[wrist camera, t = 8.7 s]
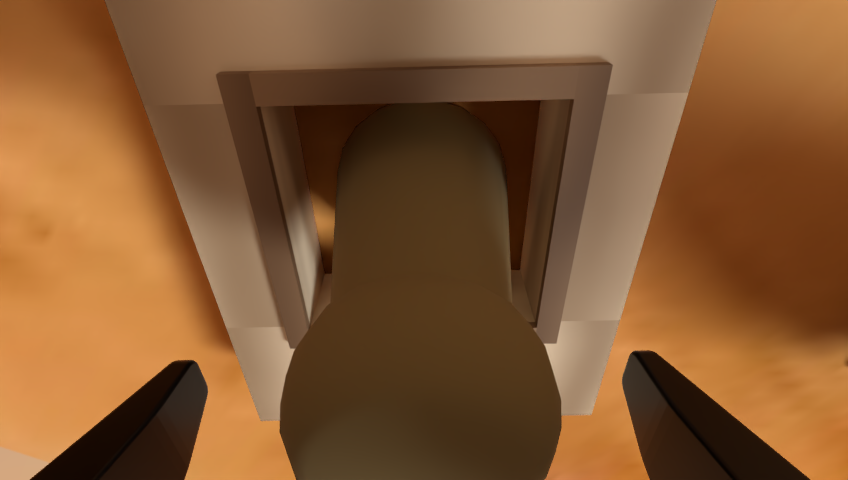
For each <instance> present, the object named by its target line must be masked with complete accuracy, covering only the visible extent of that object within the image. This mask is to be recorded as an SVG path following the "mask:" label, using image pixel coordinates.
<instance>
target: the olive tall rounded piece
mask: <svg viewBox="0 0 848 480" xmlns="http://www.w3.org/2000/svg"><path fill="white" fill-rule="evenodd" d="M560 432H561V397H560V394H559V390H558V387H557V383H556V380H555V376H554V373H553V370H552V366H551V363H550V360H549V357H548V354H547V350H546V347H545V345H544V344H543V342H542V341H541V339H540V338H539V336H538V335H537V333H536V332H535V331H534V329H533V328H532V326H531V325H530V324H529V323H528V321H527V320H526V319H525V318H524V317H523V316H522V315H521V313H520V312H519V311H518V310H517V309H516V308H515V307H514V305H513V304H512V286H511V264H510V242H509V219H508V197H507V175H506V166H505V162H504V159H503V155H502V151H501V148H500V144H499V143H498V142H497V140H496V139H495V137H494V136H493V135H492V133H491V132H490V130H489V129H488V128H487V126H486V125H485V123H483V122H482V121H480V120H479V119H478V118H476V117H475V116H473V115H472V114H470V113H469V112H468V111H466V110H465V109H463V108H462V107H459V106H455V105H452V104H449V103H445V102H430V103H395V104H392V105H389V106H386V107H384V108H381V109H378V110H377V111H375V112H374V113H373V114H372V115H370V116H369V117H368V118H367V119H365V120H364V121H363V122H361V123H360V124H359V125H358V126H356V128H355V130H354V131H353V133H352V134H351V136H350V137H349V139H348V141H347V142H346V144H345V145H344V147H343V149H342V154H341V159H340V163H339V168H338V174H337V192H336V210H335V228H334V246H333V264H332V282H331V300H330V304H329V305H327V306H326V307H325V309H324V310H323V311H322V313H321V314H320V315H319V317H318V318H317V319H316V320H315V322H314V323H313V324H312V326H311V327H310V328H309V330H308V331H307V333H306V334H305V335H304V337H303V338H302V340H301V341H300V343H299V344H298V346H297V347H296V348H295V350H294V352H293V355H292V358H291V361H290V364H289V368H288V371H287V374H286V377H285V382H284V387H283V392H282V397H281V402H280V434H281V437H282V440H283V443H284V446H285V449H286V452H287V455H288V457H289V460H290V463H291V466H292V469H293V471H294V474H295V477H296V480H544V479H545V478H546V476H547V474H548V471H549V468H550V466H551V463H552V460H553V458H554V455H555V452H556V448H557V444H558V440H559V436H560Z"/></svg>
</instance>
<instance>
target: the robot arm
mask: <svg viewBox="0 0 848 480" xmlns="http://www.w3.org/2000/svg"><path fill="white" fill-rule="evenodd" d="M622 385H623V390H624V394H625V397H626V401H627V405H628V409H629V412H630V416H631V420H632V423H633V427H634V431H635V435H636V438H637V442H638V446H639V449H640V453H641V456H642V459H643V462H644V465H645V468H646V471H647V473H648V476H649V478H650V480H810V479H809V478H808V477H807V476H805V475H804V474H803V473H802V472H800V471H799V470H798V469H797V468H796V467H794V466H793V465H792V464H791V463H790V462H788V461H787V460H786V459H785V458H783V457H782V456H781V455H780V454H779V453H777V452H776V451H775V450H774V449H772V448H771V447H770V446H769V445H768V444H766V443H765V442H764V441H763V440H762V439H760V438H759V437H758V436H757V435H755V434H754V433H753V432H752V431H751V430H749V429H748V428H747V427H746V426H744V425H743V424H742V423H741V422H740V421H738V420H737V419H736V418H735V417H734V416H732V415H731V414H730V413H729V412H727V411H726V410H725V409H724V408H723V407H721V406H720V405H719V404H718V403H717V402H715V401H714V400H713V399H712V398H710V397H709V396H708V395H707V394H706V393H704V392H703V391H702V390H701V389H699V388H698V387H697V386H696V385H695V384H693V383H692V382H691V381H690V380H689V379H687V378H686V377H685V376H684V375H682V374H681V373H680V372H679V371H678V370H676V369H675V368H674V367H673V366H671V365H670V364H669V363H668V362H667V361H665V360H664V359H663V358H662V357H661V356H659V355H658V354H657V353H655V352H653V351H649V350H647V351H633V352H632V353H631V354H630V356H629V359H628V362H627V365H626V368H625V371H624V374H623V377H622ZM207 394H208V388H207V384H206V381H205V379H204V377H203V375H202V373H201V370H200V368H199V366H198V364H197V363H196V362H195V361H193V360H178V361H174V362H172V363H170V364H169V365H168V366H167V367H165V368H164V369H163V370H162V371H161V372H159V373H158V374H157V375H156V376H155V377H153V378H152V379H151V380H150V381H148V382H147V383H146V384H145V385H144V386H142V387H141V388H140V389H139V390H138V391H136V392H135V393H134V394H133V395H132V396H130V397H129V398H128V399H127V400H125V401H124V402H123V403H122V404H121V405H119V406H118V407H117V408H116V409H115V410H113V411H112V412H111V413H110V414H109V415H107V416H106V417H105V418H104V419H103V420H101V421H100V422H99V423H98V424H96V425H95V426H94V427H93V428H92V429H90V430H89V431H88V432H87V433H86V434H84V435H83V436H82V437H81V438H80V439H78V440H77V441H76V442H75V443H73V444H72V445H71V446H70V447H69V448H67V449H66V450H65V451H64V452H63V453H61V454H60V455H59V456H58V457H57V458H55V459H54V460H53V461H52V462H51V463H49V464H48V465H47V466H46V467H45V468H43V469H42V470H41V471H40V472H38V473H37V474H36V475H35V476H34V477H32V478H31V479H30V480H184V479H185V476H186V473H187V470H188V467H189V464H190V460H191V457H192V453H193V449H194V445H195V442H196V438H197V434H198V430H199V426H200V422H201V418H202V415H203V411H204V407H205V403H206V399H207Z"/></svg>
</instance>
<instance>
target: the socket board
mask: <svg viewBox="0 0 848 480" xmlns="http://www.w3.org/2000/svg"><path fill="white" fill-rule="evenodd" d="M105 3H106V6H107V8H108V11H109V14H110V17H111V19H112V22H113V25H114V27H115V30H116V33H117V35H118V38H119V41H120V43H121V46H122V49H123V52H124V54H125V57H126V60H127V62H128V65H129V68H130V70H131V73H132V76H133V78H134V81H135V84H136V86H137V89H138V92H139V95H140V97H141V100H142V103H143V105H144V108H145V111H146V113H147V116H148V119H149V121H150V124H151V127H152V130H153V132H154V135H155V138H156V140H157V143H158V146H159V148H160V151H161V154H162V156H163V159H164V162H165V165H166V167H167V170H168V173H169V175H170V178H171V181H172V183H173V186H174V189H175V191H176V194H177V197H178V200H179V202H180V205H181V208H182V210H183V213H184V216H185V218H186V221H187V224H188V226H189V229H190V232H191V234H192V237H193V240H194V243H195V245H196V248H197V251H198V253H199V256H200V259H201V261H202V264H203V267H204V269H205V272H206V275H207V278H208V280H209V283H210V286H211V288H212V291H213V294H214V296H215V299H216V302H217V304H218V307H219V310H220V313H221V315H222V318H223V321H224V323H225V326H226V329H227V331H228V334H229V337H230V339H231V342H232V345H233V347H234V350H235V353H236V356H237V358H238V361H239V364H240V366H241V369H242V372H243V374H244V377H245V380H246V382H247V385H248V388H249V391H250V393H251V396H252V399H253V401H254V404H255V407H256V409H257V412H258V415H259V417H260V420H261V421H280V402H281V397H282V392H283V387H284V382H285V377H286V374H287V371H288V368H289V364H290V361H291V358H292V355H293V352H294V350H295V348H296V347H297V346H298V344H299V343H300V341H301V340H302V338H303V337H304V335H305V334H306V333H307V331H308V330H309V328H310V327H311V326H312V324H313V323H314V322H315V320H316V319H317V318H318V317H319V315H320V314H321V313H322V311H323V310H324V309H325V307H326V306H327V305H329V304H330V300H331V282H332V274H325V272H324V267H323V261H322V256H321V250H320V245H319V240H318V234H317V229H316V223H315V218H314V212H313V207H312V202H311V196H310V191H309V185H308V180H307V175H306V169H305V164H304V158H303V153H302V148H301V142H300V137H299V131H298V126H297V120H296V115H295V110H294V106H305V105H347V104H389V103H430V102H472V101H513V100H541V101H540V109H539V117H538V126H537V134H536V142H535V150H534V159H533V167H532V175H531V183H530V191H529V200H528V208H527V216H526V224H525V233H524V241H523V249H522V257H521V265H520V270H511V286H512V304H513V305H514V307H515V308H516V309H517V310H518V311H519V312H520V313H521V315H522V316H523V317H524V318H525V319H526V320H527V321H528V323H529V324H530V325H531V326H532V328H533V329H534V331H535V332H536V333H537V335H538V336H539V338H540V339H541V341H542V342H543V344H544V345H545V347H546V350H547V354H548V357H549V360H550V363H551V366H552V370H553V373H554V376H555V380H556V383H557V387H558V390H559V394H560V397H561V415H591V414H592V411H593V408H594V404H595V401H596V398H597V395H598V391H599V388H600V385H601V381H602V378H603V375H604V371H605V368H606V365H607V361H608V358H609V355H610V351H611V348H612V345H613V342H614V338H615V335H616V332H617V328H618V325H619V322H620V318H621V315H622V312H623V308H624V305H625V302H626V298H627V295H628V292H629V288H630V285H631V282H632V279H633V275H634V272H635V269H636V265H637V262H638V259H639V255H640V252H641V249H642V245H643V242H644V239H645V235H646V232H647V229H648V226H649V222H650V219H651V216H652V212H653V209H654V206H655V202H656V199H657V196H658V192H659V189H660V186H661V182H662V179H663V176H664V173H665V169H666V166H667V163H668V159H669V156H670V153H671V149H672V146H673V143H674V139H675V136H676V133H677V129H678V126H679V123H680V120H681V116H682V113H683V110H684V106H685V103H686V100H687V96H688V93H689V90H690V86H691V83H692V80H693V76H694V73H695V70H696V67H697V63H698V60H699V57H700V53H701V50H702V47H703V43H704V40H705V37H706V33H707V30H708V27H709V23H710V20H711V17H712V14H713V10H714V7H715V4H716V0H105Z"/></svg>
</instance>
